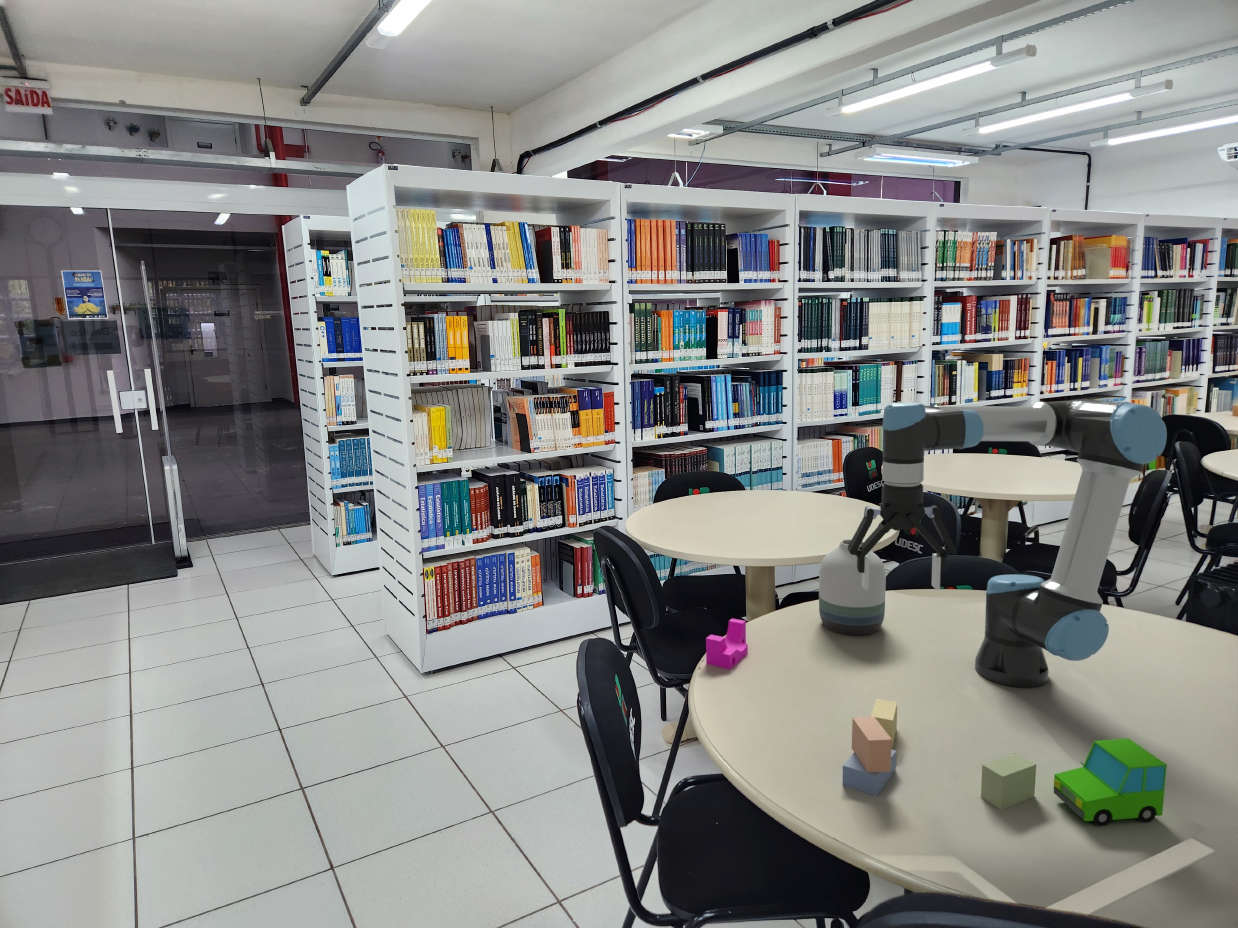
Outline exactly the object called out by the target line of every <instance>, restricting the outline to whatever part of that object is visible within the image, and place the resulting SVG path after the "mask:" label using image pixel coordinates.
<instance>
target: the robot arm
mask: <svg viewBox="0 0 1238 928" xmlns="http://www.w3.org/2000/svg"><path fill="white" fill-rule="evenodd" d="M883 409H884V410H883V416H882V417H883V419H882V471H881V472H882V474H881V475H882V476H881V477H882V478H881V479H882V481H884V482H883V483H882V484H881V505H880V507H879V508H875V507H871V506H870V505H868V506H865V508H864V511H863V512H864V513H863V517H862V519H861V521H860V523H859V525H858V527H857V529H856V531H855V532H854V535H853V537H852V538H851V539H852V540H851V542H850V544H849V546H848V548H847V550H848V551H849V552H850V554H851V555H856V556H857V570H858V572H859V573H862V587H863V588H864V590H869V558H868V556H867V554H868V553H869V551H872V549H873V548H874V547H875V546H876V545H877V544H878V542H879V541H881V539H882V538H883V537H884V536H885V535H886V534H887V533H889V532H890V531H891V530H893V531H902V530H905V531H912V530H913V529H916V530H917V532H918V533H919V534H920V535H921V536H922V537H923V538H924V540H925V541H926V542H927V543H928V544H929V545H930V546H931V547H932V548H933V550H934V551H936V553H931V554H932V555H931V556H932V559H931V561H932V562H931V563H932V564H931V586H932V587H933V588H934V589H935V590H940V589H941V573H945V571H946V566H947V565H946V560H947V558H948V556H949V555H950V554H955V553H956V552H957V547H956V546H955V544H954V542H953V540H952V538H951V537H950V534H949V532H948V530H947V528H946V527H945V524H944V522H943V520H942V519H941V509H940V507H938V506H936V505H934V504H931V505H930V506H928V507H926V506H925V507H924V505H923V504H924V503H923V502H924V485H923V484H922V483H923V481H924V480H925V479H924V474H925V473H924V471H925V470H924V468H925V467H924V465H925V464H924V461H925V452H928V451H940V450H954V449H957V450H963V449H966V448H967V449H968V448H972V447H977V445H979V443H981V442H1028V443H1030V444H1032V445H1033V446H1036V447H1037V446H1038V447H1040V446H1043V447H1044V446H1045V447H1052V448H1058V449H1062V450H1068V451H1071V452H1075V453H1078V454H1077V457H1076V458H1077V459H1076V462H1078V464H1079V465H1080V467H1081V469H1082V471H1081V474H1080V478H1079V482H1078V484H1077V487H1076V490H1075V491H1076V492H1075V493H1074V499H1073V501H1072V505H1071V507H1070V508H1071V509H1070V512H1069V515H1068V518H1067V521H1066V522H1067V523H1066V525H1065V528H1064V532H1063V536H1062V540H1061V541H1060V542H1061V543H1060V545H1059V546H1060V547H1059V550H1058V553H1057V557H1056V559H1055V560H1056V561H1055V564H1054V568H1053V571H1052V573H1051V577H1050V578H1048V579H1047V580H1045V579H1043V578H1042V577H1039V576H1035V575H1029V574H1000V575H995V576H992V577H991V578H989V580H988V581H987V587H986V591H985V595H986V597H985V619H984V620H985V623H984V638H983V640H982V643H981V645H980V647H979V649H978V650H977V651H978V652H977V654H976V656H975V659H974V663H975V664H974V670H975V671H976V673H977V674H979V675H980V676H981V677H983V678H985V679H986V680H988V681H991V682H994V683H998V684H1001V685H1006V686H1012V687H1019V688H1020V687H1021V688H1030V687H1031V688H1033V687H1037V686H1038V687H1039V686H1042V685H1044V684H1045V683H1047V682H1048V680H1049V671H1050V670H1049V666H1048V663H1047V659H1046V656H1045V653H1044V650H1045V651H1047V652H1048V653H1050V654H1051V655H1053V656H1057V657H1060V658H1061V659H1064V660H1067V661H1073V662H1079V661H1083V660H1087V659H1089V658H1090V657H1091V656H1093V655H1096V654H1097V653H1098V652H1099V651H1101V649H1102V647H1103V646H1104V645H1105V643H1106V641H1107V639H1108V637H1109V631H1110V630H1109V629H1110V628H1109V627H1110V626H1109V624H1108V620H1107V618H1106V617H1105V616H1104V614H1103V613H1102V612H1101V610H1102V606H1103V604H1104V603H1103V601H1104V600H1103V599H1102V597H1101V596H1100V594H1099V593H1098V590H1099V586H1100V582H1101V579H1102V575H1103V572H1104V569H1105V565H1106V563H1107V559H1108V556H1109V553H1110V549H1111V545H1112V543H1113V539H1114V536H1115V533H1116V529H1117V525H1118V521H1119V518H1120V515H1121V513H1122V508H1123V506H1124V503H1125V498H1126V496H1127V492H1128V489H1129V485H1130V483H1131V480H1132V479H1134V478H1135V477H1138V476H1140V475H1142V473H1143V470H1144V466H1145V464H1150V463H1152V462H1154V461H1155V460H1157V457H1160V456H1161V455H1162V454H1163V452H1164V450H1165V447H1166V444H1167V436H1168V432H1167V426H1166V424H1165V421H1163V419H1162V416H1161V414H1160V413H1159V412H1158V411H1157V410H1156V409H1154V408H1153V407H1150V406H1148V405H1145V404H1141V403H1135V402H1129V401H1114V400H1097V399H1089V398H1087V399H1085V398H1084V399H1072V400H1071V399H1070V400H1061V401H1060V400H1057V401H1048V402H1047V401H1039V402H1034V403H1033V404H1031V405H1029V406H1012V405H1011V406H1003V405H1002V406H1001V405H999V406H995V405H988V406H987V405H984V406H983V405H978V406H977V405H925V404H923V403H921V402H913V401H912V402H911V401H909V402H893V403H888V404H887V405H886V406H885V407H884V408H883ZM925 515H927V517H928V518H930V519H931V521H932V523H933V526H934V527H935V529H936V531H937V533H938V534H939V537H940V539H941V542H942V543H943V545H944V546H942V545H941V544H940V543H939V542H938V541H937V540H936V539H935V537H934V536H933V535H932V534H931V533H930V532H929V530H927V529H926V527H925V525H923V524H922V523H921V522H920V521H921V520H923V518H924V516H925ZM878 516H880V517H881V518H882V520H881V521H880V522H879V523H878V525H877V527H876V528H875V529H874V531H872V532H871V533H870V534H869V536H868V537H867V538H866V539H865V537H866V535H867V533H868V532H869V529H870V528H871V525H872V524H873V521H874V520H875V519H877V517H878ZM864 539H865V540H864ZM862 541H864V543H863V544H862V545H861V546H860V544H861V542H862ZM859 546H860V547H859Z"/></svg>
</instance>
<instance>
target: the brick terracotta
mask: <svg viewBox="0 0 1238 928" xmlns="http://www.w3.org/2000/svg"><path fill="white" fill-rule="evenodd" d="M851 721H852V727H851V750H852V751H853V753H855V754H856V756H857V757H858V759H859V760H860V762H861V763H862V765H863V766H864V768H865V769H866V771H867V772H868V773H873V772H891V749H892V750H893V747H892V739H891V738H890V736H889V735H888V734H887V733H886V731H885V730H884V729H883V727H882V726H881V725H880V724H879V722H878V721H877V720H876V718H875V717H871V716H860V717H859V716H858V717H852V720H851Z"/></svg>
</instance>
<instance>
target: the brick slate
mask: <svg viewBox="0 0 1238 928" xmlns="http://www.w3.org/2000/svg"><path fill="white" fill-rule="evenodd" d="M896 767H897V750H895V749H893V748H892V749H891V772H873V773H868V772H867V771H866V769H865V768H864V766H863V765H862V763H861V762H860V760H859V759H858V757H857V756H856V754H855V753H854V752H853V753H852V754H851V755H850V756H849V757H848V759H847V760H846V761H845V762H844V763H843V765H842V785H843V786H846V787H849V788H851V789H854V790H858V791H861V792H864V793H866V794H869V795H872V796H874V797H877V796H878V795H879V793H880V792H881V791H882V789H883V787H884V786H885V785H886V784H887V783H888V782H889V780H890V778H891V777H892V775H893V774H894V773H895V771H896V770H897V769H896Z"/></svg>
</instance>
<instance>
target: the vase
mask: <svg viewBox="0 0 1238 928" xmlns="http://www.w3.org/2000/svg"><path fill="white" fill-rule="evenodd" d="M851 540H852V538H849V539H842V540H840V542H839V545H838V546H837V547H836V548H834V549H832V550H831V551H829V552H828V553H826V555H824V557H823V559H822V561H821V563H820V565H819V566H820V567H819V572H818V573H819V576H818V577H819V578H818V581H819V582H818V590H819V591H818V610H819V611H818V613H819V617H820V619H821V622H822V624H823V625H824V626H825V627H826V628H827V629H829V630H830V631H832V632H835V633H838V634H841V635H848V636H865V635H870V634H873V633H874V632H875V633H876V632H877V631H878V630H880V628H881V627H882V624H883V622H884V620H885V613H886V612H885V611H886V610H885V609H886V587H887V586H886V585H887V583H886V582H887V581H886V580H887V577H886V576H887V575H886V568H885V565H884V563H883V560H882V559H881V558H880V557H879V555H877V554H876V553H874V552H873V551H872V550H870V551H869V553H868V554H867V556H868V558H869V590H864V588H863V587H862V573H859V572H858V570H857V556H856V555H851V554H850V552H849V551H848V550H847V548H848V546H849V544H850V542H851ZM864 542H865V540H863V541H862V542H861V544H860V546H861V545H862V544H863V543H864ZM860 546H859V547H860Z"/></svg>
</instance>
